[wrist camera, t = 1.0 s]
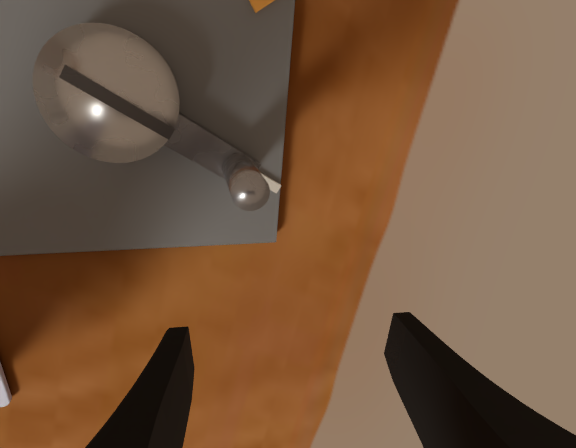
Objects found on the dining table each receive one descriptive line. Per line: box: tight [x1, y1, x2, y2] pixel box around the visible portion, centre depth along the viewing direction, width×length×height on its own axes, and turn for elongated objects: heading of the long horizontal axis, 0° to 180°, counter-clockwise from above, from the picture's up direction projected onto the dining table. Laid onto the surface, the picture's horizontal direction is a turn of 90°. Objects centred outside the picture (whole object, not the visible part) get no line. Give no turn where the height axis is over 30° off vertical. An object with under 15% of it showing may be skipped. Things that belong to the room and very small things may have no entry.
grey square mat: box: [0, 0, 295, 256], centre depth 18 cm, size 18×18×1 cm
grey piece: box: [33, 22, 270, 211], centre depth 16 cm, size 11×6×5 cm, turn 55°
